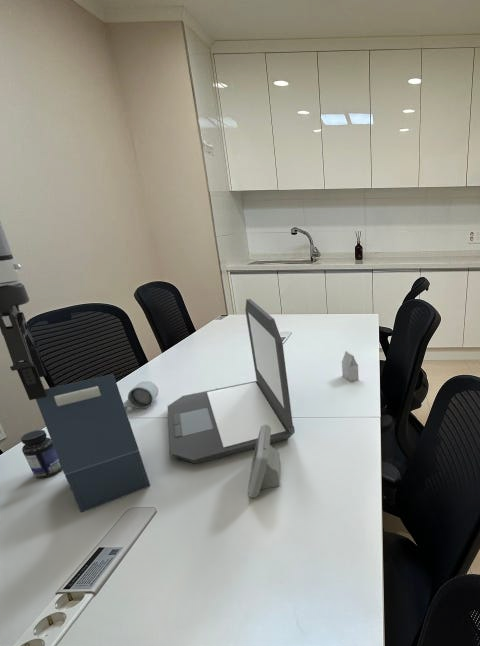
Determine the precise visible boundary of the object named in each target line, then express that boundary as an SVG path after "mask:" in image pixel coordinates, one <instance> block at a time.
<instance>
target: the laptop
mask: <svg viewBox="0 0 480 646" xmlns="http://www.w3.org/2000/svg"><path fill="white" fill-rule="evenodd" d="M244 310H245V316H246V317H245V318H246V324H247V329H248V336H249V343H250V348H251V355H252V360H253V366H254V374H255V380H253V381H249V382H244V383H239V384H235V385H230V386H225V387H220V388H215V389H209V390H205V391H200V392H199V391H198V392H194V393H190V394H185V395H182V396H180V397H179V398H177V399H176V400H174V401H173V402H171V403H170V404H169V405H167V419H168V433H169V446H170V447H169V448H170V454H171V455H173V456H174V457H176V458H177V459H179V460H181V461H186V462H190V463H194V464H201V463H205V462H209V461H212V460H215V459H220V458H223V457H226V456H227V457H228V456H230V455H234V454H237V453H241V452H244V451H248V450H251V449H252V450H253V449H255V447H256V444H257V440H258V436H259V432H260V428H261V426H263V425H268V426H269V427H270V428H271V434H270V445H272V444H274V443H278V442H281V441H282V442H283V441H286V440H289V438H291V437H292V436H293V435H294V434H295V433H296V431H295V430H296V429H295V426H294V424H293V423H294V422H293V415H292V407H291V399H290V391H289V384H288V376H287V368H286V366H287V365H286V360H285V359H286V358H285V351H284V344H283V340H282V337H281V334H280V332H279V329H278V326H277V323H276V320H275V318H274V317H272V315H270V313H268V312H266V311H265V310H264V309H263V308H262V307H261V306H259V305H258V304H257V303H256V302H254V301H253V300H252V299H251V298H246V301H245V309H244Z"/></svg>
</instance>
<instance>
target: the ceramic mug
mask: <svg viewBox="0 0 480 646" xmlns="http://www.w3.org/2000/svg"><path fill="white" fill-rule="evenodd" d="M158 395H159V387H158V386H157V384H155V383H154V382H152V381H149V380H144V381H141V382H139V383H137V384H136V385H135V386H134V387H132V389H130V391H129V392H128V394H127V400H125V401H124V402H123V404H124V407H125V408H128V407H131V406H132V407H134V408H135V409H139V410H141V409H143V410H144V409H147V408H149V407H151V406H152V405H153V403H154V402H155V400H156V399H157V397H158Z"/></svg>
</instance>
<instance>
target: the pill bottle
mask: <svg viewBox="0 0 480 646" xmlns="http://www.w3.org/2000/svg"><path fill="white" fill-rule="evenodd" d="M47 435H48V434H47V433H46V430H44V429H36V430H32V431H29V432H27V433H24V434H23V435H22V436H20V441H21V443H22V444H24V445H23V446H22V448H21V451H22V453H23V455H24V457H25V460H26V462H27V464H28V466H29V468H30V470H31V472H32V474H33V476H34V477H35V478H36V479H45V478H49V477H52V476H54V475H57V474H58V473H60V472H61V471H63V469H62V467H61V464H60V462H59V459H58V456H57V454H56V451H55V448H54V446H53V443H52V441H51V438H50V437H47Z"/></svg>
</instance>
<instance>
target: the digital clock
mask: <svg viewBox="0 0 480 646" xmlns="http://www.w3.org/2000/svg"><path fill="white" fill-rule="evenodd" d="M270 434H271V428H270V427H269V426H268V425H263V426H261V428H260V432H259V436H258V440H257V444H256V447H255V448H254V451H253V456H252V461H251V467H250V475H249V481H248V486H247V487H248V489H247V495H248V496H249V497H250V498H251V499H254V498H257V497H258V496H259V495H260V492H261V490H262V489H263V490H264V489H269V488H278V487H280V486H281V468H282V467H281V465H282V464H281V457H280V452H279V450H278V449H277V448H274V447H273V446H272V444H270Z"/></svg>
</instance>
